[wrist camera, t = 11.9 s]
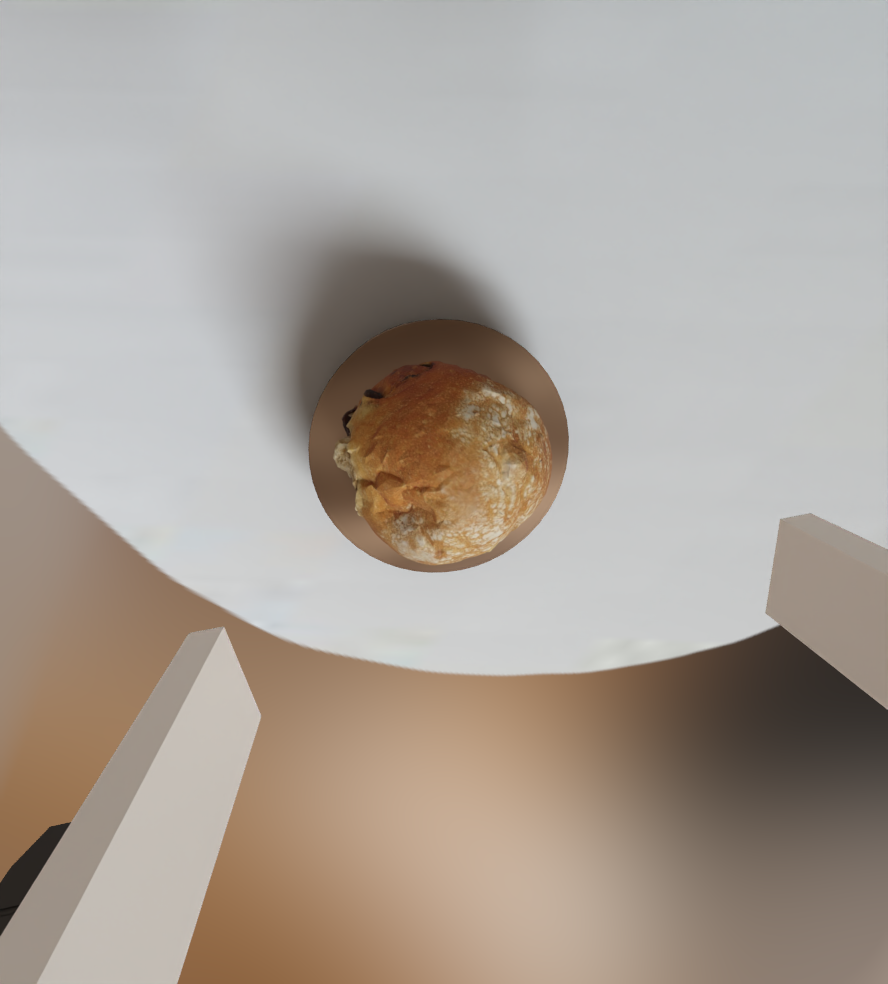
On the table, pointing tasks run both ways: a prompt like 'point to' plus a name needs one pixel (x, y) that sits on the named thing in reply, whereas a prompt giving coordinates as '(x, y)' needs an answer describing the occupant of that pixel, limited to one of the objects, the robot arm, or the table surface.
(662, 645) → the table surface
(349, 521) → the walnut stand
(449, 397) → the bread roll
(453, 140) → the table surface
